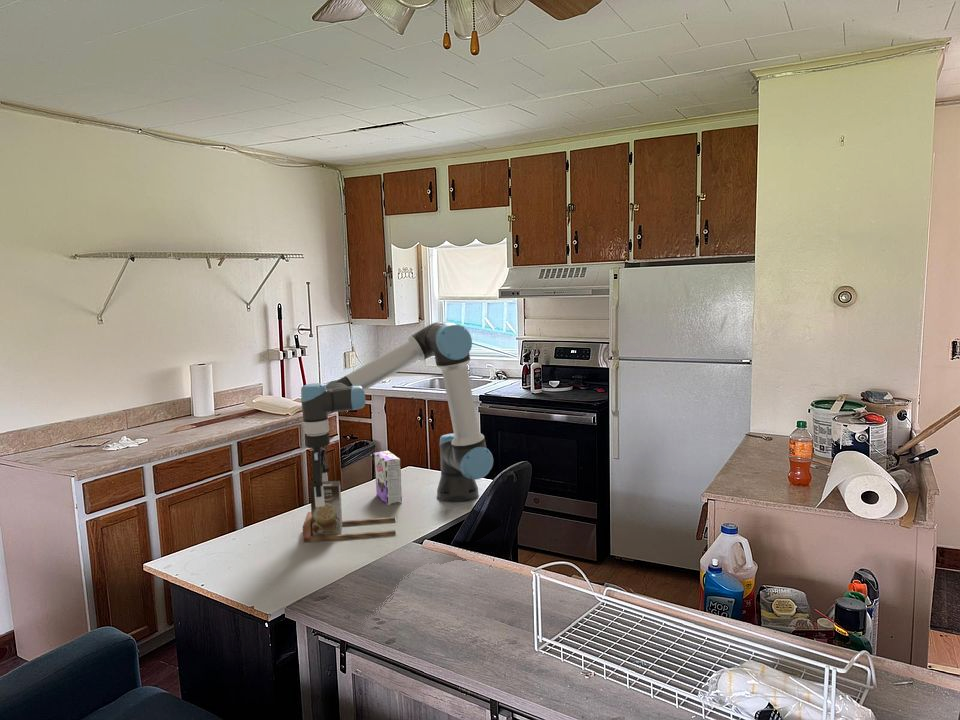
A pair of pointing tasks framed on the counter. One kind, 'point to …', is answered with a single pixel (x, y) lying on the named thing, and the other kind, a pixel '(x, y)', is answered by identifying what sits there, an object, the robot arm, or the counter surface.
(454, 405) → the robot arm
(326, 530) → the coffee box
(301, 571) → the counter surface
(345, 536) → the channel
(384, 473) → the candy box
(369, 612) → the counter surface
